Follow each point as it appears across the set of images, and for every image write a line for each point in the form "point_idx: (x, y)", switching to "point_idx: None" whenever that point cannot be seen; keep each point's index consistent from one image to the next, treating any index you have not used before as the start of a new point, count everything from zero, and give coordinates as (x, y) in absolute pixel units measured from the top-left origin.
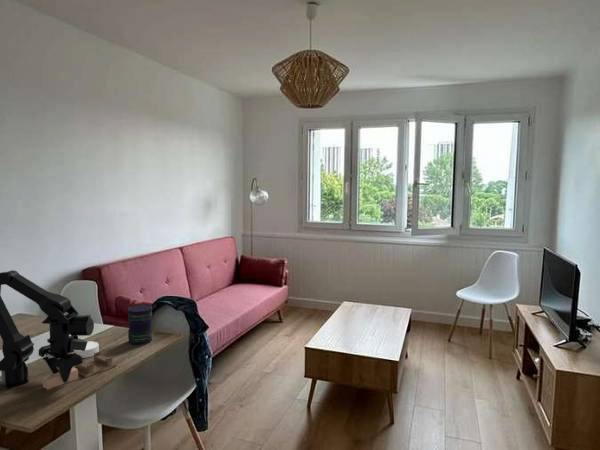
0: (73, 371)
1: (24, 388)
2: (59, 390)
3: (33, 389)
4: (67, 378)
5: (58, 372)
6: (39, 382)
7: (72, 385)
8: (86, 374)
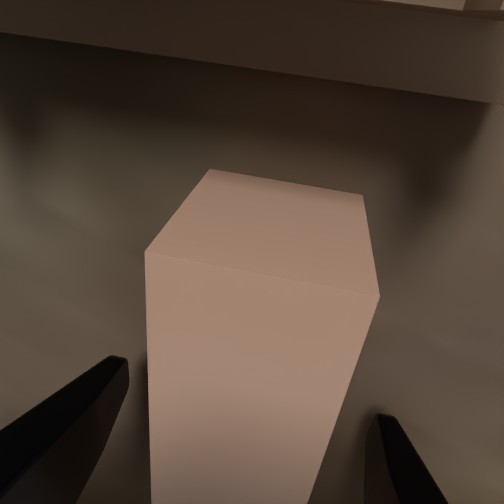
0: (350, 375)
1: (92, 500)
2: None
3: None
4: (420, 476)
5: (156, 477)
6: None
7: (476, 368)
8: (478, 70)
